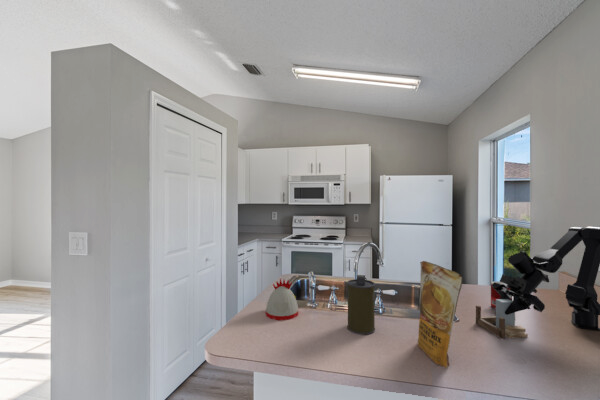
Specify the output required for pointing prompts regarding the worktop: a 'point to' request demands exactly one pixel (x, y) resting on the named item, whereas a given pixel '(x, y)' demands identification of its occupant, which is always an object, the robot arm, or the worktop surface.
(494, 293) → the canned food
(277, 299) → the beanie hat
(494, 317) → the rack
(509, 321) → the grey rectangular block
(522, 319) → the worktop surface
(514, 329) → the offcut stack
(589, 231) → the robot arm
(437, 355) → the pancake mix bag
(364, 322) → the canister
